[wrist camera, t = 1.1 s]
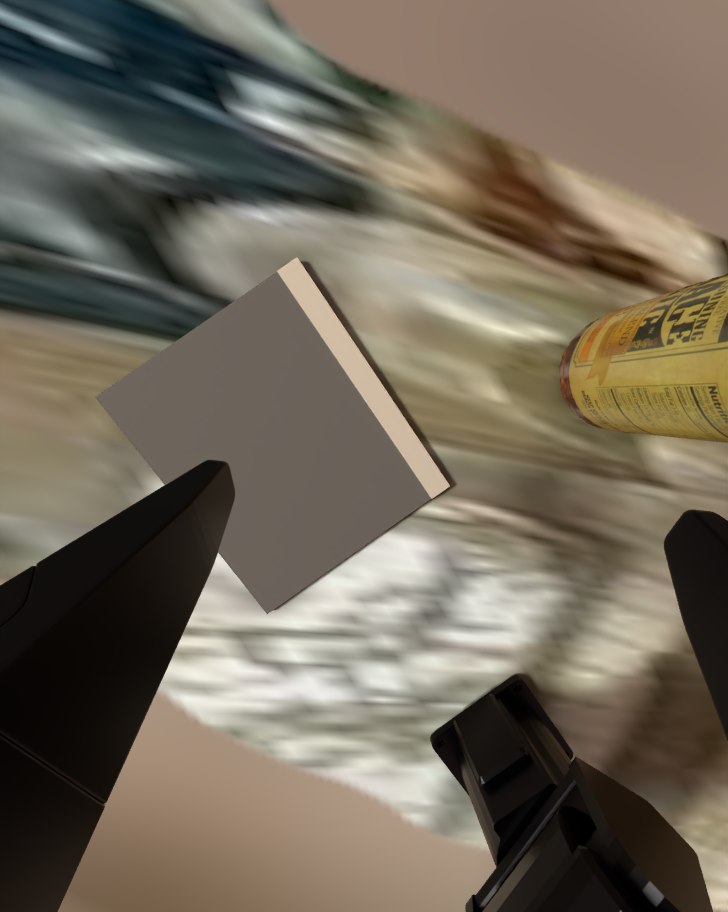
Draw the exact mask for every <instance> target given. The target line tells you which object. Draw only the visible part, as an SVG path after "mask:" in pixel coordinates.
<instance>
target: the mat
mask: <svg viewBox="0 0 728 912" xmlns="http://www.w3.org/2000/svg"><path fill="white" fill-rule="evenodd" d="M96 399H97V400H98V401H99V402H100V404H101V405H102V406H103V407H104V409H105V410H106V411H107V413H108V414H109V415H110V416H111V418H112V419H113V420H114V421H115V423H116V424H117V425H118V426H119V428H120V429H121V430H122V431H123V433H124V434H125V435H126V436H127V438H128V439H129V440H130V442H131V443H132V444H133V445H134V447H135V448H136V449H137V450H138V452H139V453H140V454H141V455H142V457H143V458H144V459H145V460H146V462H147V463H148V464H149V466H150V467H151V468H152V469H153V471H154V472H155V473H156V474H157V476H158V477H159V478H160V479H161V481H162V482H163V483H164V484H165V485H166V484H168V483H169V482H171V481H173V480H174V479H176V478H178V477H179V476H181V475H183V474H184V473H186V472H187V471H189V470H191V469H192V468H194V467H196V466H197V465H199V464H201V463H202V462H204V461H206V460H219V461H225V462H227V463H228V464H229V466H230V470H231V474H232V479H233V483H234V487H235V500H234V504H233V507H232V510H231V513H230V516H229V519H228V522H227V525H226V529H225V532H224V535H223V538H222V541H221V544H220V547H219V550H218V553H219V554H220V555H221V556H222V558H223V559H224V560H225V561H226V563H227V564H228V565H229V566H230V568H231V569H232V570H233V572H234V573H235V574H236V575H237V577H238V578H239V579H240V580H241V582H242V583H243V584H244V585H245V587H246V588H247V589H248V590H249V592H250V593H251V594H252V595H253V597H254V598H255V599H256V601H257V602H258V603H259V604H260V606H261V607H262V608H263V609H264V611H265V612H266V613H267V614H268V613H269V612H271V611H272V610H274V609H275V608H277V607H278V606H279V605H281V604H282V603H284V602H285V601H286V600H288V599H289V598H291V597H292V596H294V595H295V594H296V593H298V592H299V591H301V590H302V589H304V588H305V587H306V586H308V585H309V584H311V583H312V582H313V581H315V580H316V579H318V578H319V577H321V576H322V575H323V574H325V573H326V572H328V571H329V570H331V569H332V568H333V567H335V566H336V565H338V564H339V563H340V562H342V561H343V560H345V559H346V558H348V557H349V556H350V555H352V554H353V553H355V552H356V551H358V550H359V549H360V548H362V547H363V546H365V545H366V544H367V543H369V542H370V541H372V540H373V539H375V538H376V537H377V536H379V535H380V534H382V533H383V532H385V531H386V530H387V529H389V528H390V527H392V526H393V525H394V524H396V523H397V522H399V521H400V520H402V519H403V518H404V517H406V516H407V515H409V514H410V513H412V512H413V511H414V510H416V509H417V508H419V507H420V506H421V505H423V504H424V503H426V502H427V501H429V500H430V499H432V498H434V497H435V496H437V495H438V494H440V493H441V492H442V491H444V490H445V489H447V488H448V487H449V486H450V485H449V484H448V482H447V481H446V479H445V478H444V476H443V475H442V473H441V472H440V470H439V469H438V467H437V466H436V464H435V463H434V461H433V460H432V458H431V457H430V455H429V454H428V452H427V451H426V449H425V448H424V446H423V445H422V443H421V442H420V440H419V439H418V437H417V436H416V434H415V433H414V431H413V430H412V428H411V427H410V425H409V424H408V422H407V421H406V419H405V418H404V416H403V415H402V413H401V412H400V410H399V409H398V407H397V406H396V404H395V403H394V401H393V400H392V398H391V397H390V395H389V394H388V392H387V391H386V389H385V388H384V386H383V385H382V383H381V382H380V380H379V379H378V377H377V376H376V374H375V373H374V372H373V370H372V369H371V367H370V366H369V364H368V363H367V361H366V360H365V358H364V357H363V355H362V354H361V352H360V351H359V349H358V348H357V346H356V345H355V343H354V342H353V340H352V339H351V337H350V336H349V334H348V333H347V331H346V330H345V328H344V327H343V325H342V324H341V322H340V321H339V319H338V318H337V316H336V315H335V313H334V312H333V310H332V309H331V307H330V306H329V304H328V303H327V301H326V300H325V298H324V297H323V295H322V294H321V292H320V291H319V289H318V288H317V286H316V285H315V283H314V282H313V280H312V279H311V277H310V276H309V274H308V273H307V271H306V270H305V268H304V267H303V265H302V264H301V262H300V261H299V259H298V258H295V259H294V260H292V261H291V262H289V263H288V264H287V265H285V266H284V267H282V268H281V269H279V270H278V271H277V272H276V273H275V274H273V275H272V276H270V277H269V278H267V279H266V280H265V281H263V282H262V283H260V284H259V285H257V286H256V287H254V288H253V289H251V290H250V291H249V292H247V293H246V294H244V295H243V296H241V297H240V298H238V299H237V300H235V301H234V302H233V303H231V304H230V305H228V306H227V307H225V308H224V309H222V310H221V311H220V312H218V313H217V314H215V315H214V316H212V317H211V318H209V319H208V320H206V321H205V322H204V323H202V324H201V325H199V326H198V327H196V328H195V329H193V330H192V331H190V332H189V333H188V334H186V335H185V336H183V337H182V338H180V339H179V340H177V341H176V342H175V343H173V344H172V345H170V346H169V347H167V348H166V349H164V350H163V351H161V352H160V353H159V354H157V355H156V356H154V357H153V358H151V359H150V360H148V361H147V362H146V363H144V364H143V365H141V366H140V367H138V368H137V369H135V370H134V371H132V372H131V373H130V374H128V375H127V376H125V377H124V378H122V379H121V380H119V381H118V382H116V383H115V384H114V385H112V386H111V387H109V388H108V389H106V390H105V391H103V392H102V393H101V394H99V395H98V396H96Z"/></svg>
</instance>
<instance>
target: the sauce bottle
mask: <svg viewBox="0 0 728 912" xmlns="http://www.w3.org/2000/svg"><path fill="white" fill-rule="evenodd" d="M560 373H561V375H560V376H561V377H560V383H561V391H562V395H563V398H564V400H565V401H566V402H567V404H568V405H569V406H570V408H571V409H572V410H573V412H574V413H575V414H577V415H578V416H579V417H580V418H582V419H583V420H585V421H586V422H587V423H588V424H591V425H593V426H595V427H598V428H606V429H610V430H614V431H622V432H631V433H640V434H649V435H659V436H668V437H678V438H687V439H697V440H706V441H716V442H725V443H728V274H726V275H723V276H720V277H716V278H712V279H710V280H708V281H704V282H700V283H697V284H694V285H691V286H687V287H685V288H683V289H680V290H677V291H674V292H671V293H668V294H665V295H662V296H659V297H656V298H653V299H650V300H647V301H644V302H641V303H638V304H635V305H632V306H629V307H626V308H623V309H620V310H617V311H614V312H611V313H609V314H607V315H605V316H603V317H602V318H600V319H598V320H596V321H594V322H592V323H590V324H589V325H588V326H586V327H585V328H584V329H583V330H582V331H581V332H579V334H578V335H577V336H576V337H575V338H574V339H573V340H572V341H571V343H570V345H569V346H568V348H567V349H566V351H565V352H564V354H563V356H562V361H561V365H560Z"/></svg>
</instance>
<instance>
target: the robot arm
mask: <svg viewBox="0 0 728 912" xmlns="http://www.w3.org/2000/svg"><path fill="white" fill-rule="evenodd" d="M234 500H235V487H234V483H233V479H232V474H231V470H230V466H229V464H228V463H227V462H225V461H219V460H206V461H204V462H202V463H201V464H199V465H197V466H196V467H194V468H192V469H191V470H189V471H187V472H186V473H184V474H183V475H181V476H179V477H178V478H176V479H174V480H173V481H171V482H169V483H168V484H166V485H165V486H163V487H161V488H160V489H158V490H156V491H155V492H153V493H151V494H150V495H148V496H146V497H145V498H143V499H142V500H140V501H138V502H137V503H135V504H133V505H132V506H130V507H128V508H127V509H125V510H124V511H122V512H120V513H119V514H117V515H115V516H114V517H112V518H110V519H109V520H107V521H106V522H104V523H102V524H101V525H99V526H97V527H96V528H94V529H92V530H91V531H89V532H87V533H86V534H84V535H83V536H81V537H79V538H78V539H76V540H74V541H73V542H71V543H69V544H68V545H66V546H65V547H63V548H61V549H60V550H58V551H56V552H55V553H53V554H51V555H50V556H48V557H46V558H45V559H43V560H42V561H40V562H38V563H37V565H36V566H32V567H30V568H28V569H27V570H25V571H23V572H22V573H20V574H18V575H17V576H15V577H13V578H12V579H10V580H9V581H7V582H5V583H3V584H2V585H0V912H58V909H59V907H60V905H61V903H62V901H63V898H64V896H65V894H66V892H67V890H68V887H69V885H70V883H71V881H72V878H73V876H74V874H75V872H76V870H77V867H78V865H79V863H80V861H81V858H82V856H83V854H84V852H85V850H86V848H87V845H88V843H89V841H90V839H91V836H92V834H93V832H94V830H95V828H96V825H97V823H98V821H99V819H100V816H101V814H102V812H103V810H104V808H105V804H104V803H106V802H107V800H108V798H109V796H110V794H111V791H112V789H113V787H114V785H115V782H116V780H117V778H118V776H119V774H120V772H121V769H122V767H123V765H124V763H125V760H126V758H127V756H128V754H129V751H130V749H131V747H132V745H133V743H134V740H135V738H136V736H137V734H138V732H139V729H140V727H141V725H142V723H143V721H144V718H145V716H146V714H147V712H148V710H149V707H150V705H151V703H152V701H153V698H154V696H155V694H156V692H157V690H158V687H159V685H160V683H161V681H162V679H163V676H164V674H165V672H166V670H167V667H168V665H169V663H170V661H171V659H172V656H173V654H174V652H175V650H176V648H177V645H178V643H179V641H180V639H181V637H182V634H183V632H184V630H185V628H186V625H187V623H188V621H189V619H190V617H191V614H192V612H193V610H194V608H195V606H196V603H197V601H198V599H199V597H200V594H201V592H202V590H203V588H204V586H205V583H206V581H207V579H208V577H209V574H210V572H211V570H212V567H213V565H214V562H215V559H216V557H217V554H218V550H219V547H220V544H221V541H222V538H223V535H224V532H225V529H226V525H227V522H228V519H229V516H230V513H231V510H232V507H233V504H234ZM664 551H665V555H666V558H667V562H668V566H669V570H670V574H671V578H672V582H673V586H674V589H675V593H676V597H677V601H678V605H679V609H680V613H681V616H682V619H683V623H684V626H685V629H686V631H687V634H688V637H689V640H690V642H691V645H692V648H693V650H694V653H695V655H696V658H697V661H698V663H699V666H700V669H701V671H702V674H703V677H704V679H705V682H706V684H707V687H708V690H709V692H710V695H711V698H712V700H713V703H714V705H715V708H716V711H717V713H718V716H719V719H720V721H721V724H722V727H723V729H724V732H725V734H726V737H727V740H728V521H727V520H726V519H724V518H723V517H721V516H720V515H718V514H716V513H714V512H710V511H702V510H688V511H686V512H684V513H683V514H682V516H681V517H680V518H679V520H678V521H677V522H676V524H675V525H674V526H673V528H672V529H671V530H670V532H669V533H668V534H667V536H666V538H665V541H664ZM517 684H519V686H518V687H516V688H514V687H515V685H517ZM438 740H442V741H441V742H437V741H438ZM430 741H431V744H432V747H433V749H434V750H435V752H436V753H437V754H438V756H439V757H440V758H441V760H442V761H443V762H444V763H445V765H446V766H447V767H448V769H449V770H450V771H451V773H452V774H453V775H454V777H455V778H456V779H457V780H458V782H459V783H460V784H461V786H462V787H463V788H464V790H465V791H466V792H467V794H468V795H469V796H470V798H471V801H472V804H473V806H474V809H475V812H476V814H477V817H478V820H479V822H480V825H481V828H482V830H483V833H484V836H485V838H486V841H487V844H488V846H489V849H490V852H491V854H492V857H493V860H494V862H495V865H496V869H495V870H494V872H493V873H492V874H491V876H490V877H489V878H488V880H487V881H486V882H485V884H484V885H483V886H482V888H481V889H480V890H479V892H478V893H477V894H476V895H472V897H471V898H470V899H469V901H468V902H467V903H466V912H713V910H712V906H711V903H710V899H709V895H708V892H707V888H706V885H705V881H704V878H703V874H702V871H701V867H700V864H699V860H698V856H697V854H696V853H695V851H694V850H693V849H692V848H691V847H690V845H689V844H688V843H687V842H686V841H685V840H684V839H683V838H682V837H681V836H680V835H679V834H678V833H677V832H676V831H675V829H674V828H673V827H672V826H671V825H670V824H669V823H668V822H667V821H666V820H665V819H664V818H663V817H662V816H661V815H660V814H659V812H658V811H657V810H656V809H655V808H654V807H653V806H652V805H651V804H650V803H649V802H648V801H646V800H645V799H643V798H642V797H640V796H639V795H637V794H635V793H634V792H632V791H630V790H629V789H627V788H626V787H624V786H622V785H621V784H619V783H618V782H616V781H614V780H613V779H611V778H610V777H608V776H606V775H605V774H603V773H602V772H600V771H598V770H597V769H595V768H593V767H592V766H590V765H589V764H587V763H585V762H584V761H582V760H581V759H579V758H577V757H575V758H574V760H573V761H571V759H572V757H573V752H572V750H571V749H570V747H569V746H568V744H567V743H566V741H565V740H564V739H563V737H562V736H561V734H560V733H559V731H558V730H557V728H556V727H555V726H554V724H553V723H552V721H551V720H550V718H549V717H548V716H547V714H546V713H545V711H544V710H543V708H542V707H541V705H540V704H539V703H538V701H537V700H536V698H535V697H534V695H533V694H532V692H531V691H530V690H529V688H528V687H527V685H526V684H525V682H524V681H523V680H522V679H521V678H520V677H519V676H513V677H511V678H509V679H508V680H506V681H505V682H504V683H502V684H501V685H499V686H498V687H497V688H495V689H494V690H492V691H491V692H490V693H488V694H487V695H485V696H484V697H483V698H481V699H480V700H478V701H477V702H476V703H474V704H473V705H471V706H470V707H469V708H467V709H466V710H464V711H463V712H462V713H460V714H459V715H457V716H456V717H455V718H453V719H452V720H450V721H449V722H448V723H446V724H445V725H443V726H442V727H441V728H439V729H438V730H436V731H435V732H434V733H433V734H432V735H431V737H430Z"/></svg>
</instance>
